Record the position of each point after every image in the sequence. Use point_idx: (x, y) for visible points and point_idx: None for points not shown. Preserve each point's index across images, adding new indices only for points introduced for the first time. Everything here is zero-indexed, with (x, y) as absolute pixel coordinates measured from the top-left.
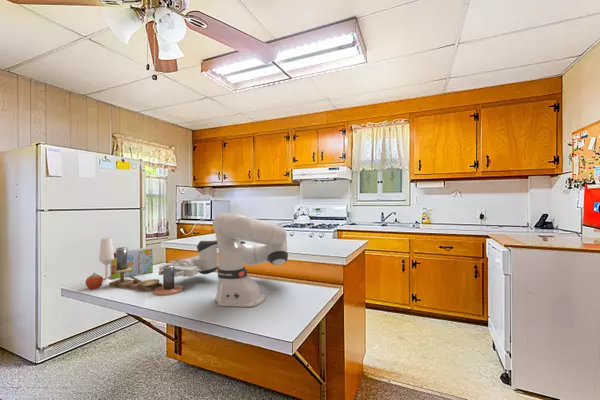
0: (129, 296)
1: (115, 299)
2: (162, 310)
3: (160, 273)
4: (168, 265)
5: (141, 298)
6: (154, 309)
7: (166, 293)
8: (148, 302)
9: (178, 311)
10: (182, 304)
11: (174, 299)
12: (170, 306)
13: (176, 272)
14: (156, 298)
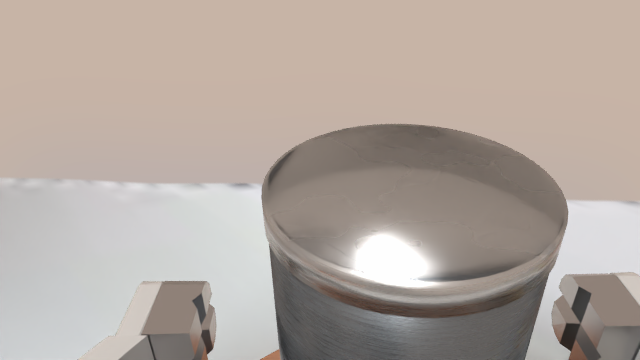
0: (580, 263)
1: (586, 208)
2: (119, 187)
3: (564, 293)
4: (478, 210)
5: None
6: (178, 185)
7: (271, 357)
8: None
9: (8, 198)
10: (6, 265)
11: (121, 316)
12: (92, 226)
13: (179, 311)
14: None
